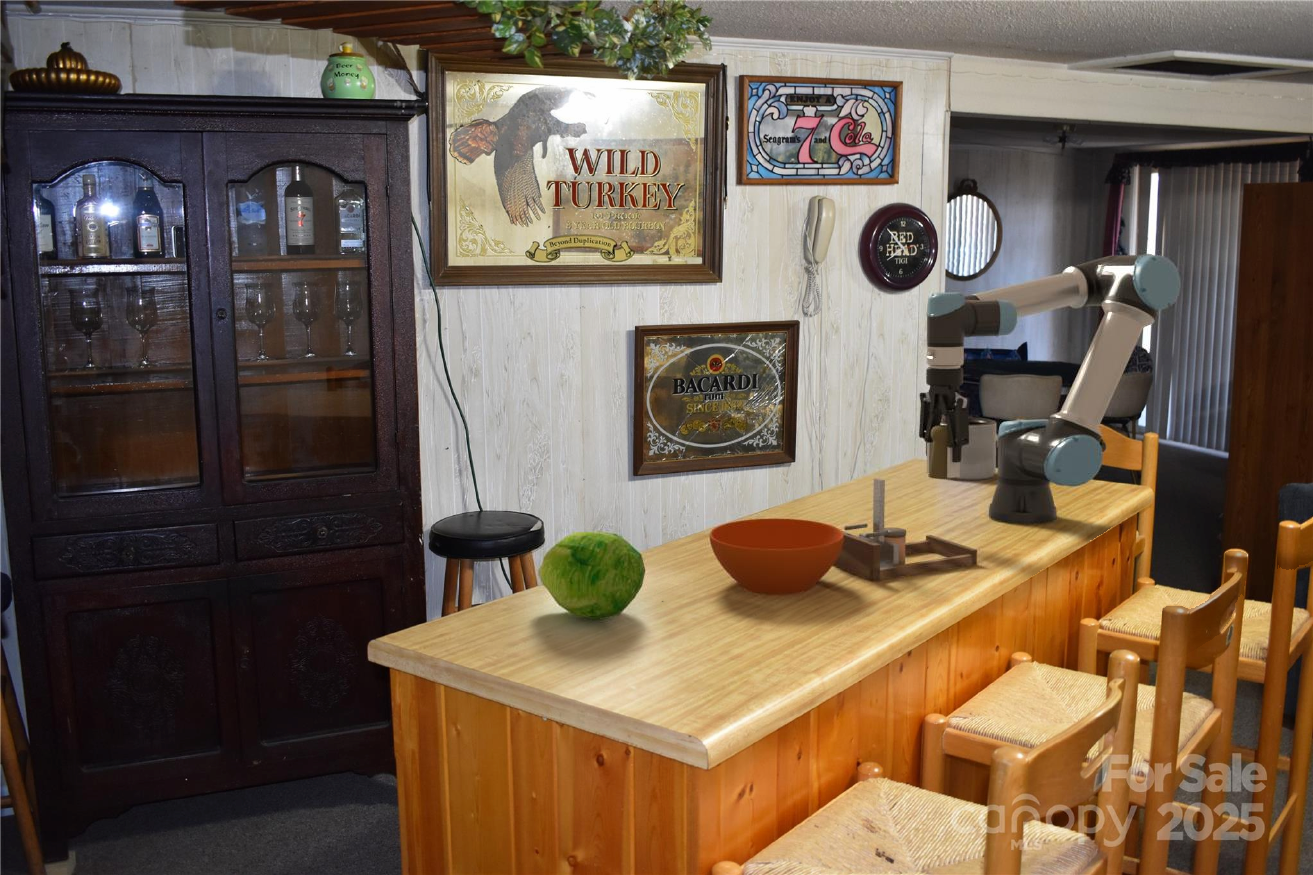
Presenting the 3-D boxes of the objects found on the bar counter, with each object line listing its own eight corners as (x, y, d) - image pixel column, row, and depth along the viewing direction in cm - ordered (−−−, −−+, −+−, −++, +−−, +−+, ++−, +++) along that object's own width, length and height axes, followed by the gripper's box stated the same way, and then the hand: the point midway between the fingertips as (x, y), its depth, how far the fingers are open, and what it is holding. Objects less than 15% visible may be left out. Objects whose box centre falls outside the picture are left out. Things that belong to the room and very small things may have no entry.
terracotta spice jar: (894, 561, 232) (895, 526, 230) (911, 567, 227) (911, 531, 226) (873, 564, 229) (874, 529, 228) (889, 570, 225) (890, 534, 224)
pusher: (863, 559, 232) (864, 474, 229) (898, 572, 222) (899, 483, 219) (858, 560, 232) (859, 474, 229) (893, 573, 221) (894, 484, 219)
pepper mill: (958, 479, 241) (959, 427, 239) (928, 478, 242) (929, 427, 241) (956, 474, 247) (957, 423, 245) (927, 473, 248) (928, 423, 247)
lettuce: (580, 607, 212) (579, 525, 212) (664, 616, 199) (662, 529, 199) (514, 619, 199) (512, 532, 199) (599, 630, 186) (597, 537, 186)
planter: (938, 481, 313) (939, 425, 311) (933, 470, 329) (934, 417, 327) (998, 482, 311) (1000, 425, 308) (991, 471, 326) (993, 417, 324)
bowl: (755, 612, 200) (755, 556, 199) (686, 578, 222) (685, 528, 221) (871, 591, 212) (871, 538, 210) (794, 561, 234) (794, 512, 232)
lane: (930, 548, 241) (931, 509, 240) (976, 564, 228) (977, 523, 227) (830, 564, 230) (830, 523, 229) (873, 581, 218) (873, 538, 216)
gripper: (902, 364, 248) (901, 469, 252) (960, 371, 231) (958, 483, 235) (930, 362, 251) (928, 466, 255) (989, 368, 234) (987, 480, 238)
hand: (942, 474), depth 245 cm, fingers closed on pepper mill, 6 cm apart
